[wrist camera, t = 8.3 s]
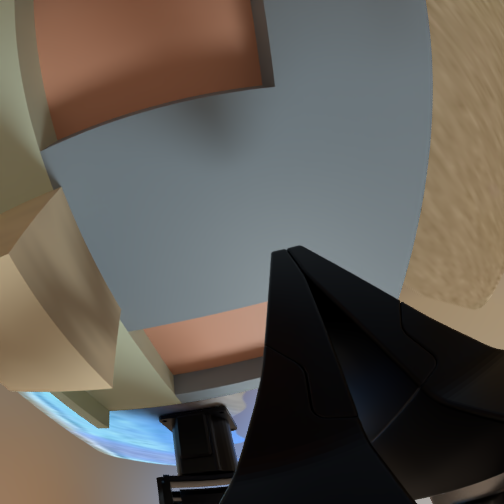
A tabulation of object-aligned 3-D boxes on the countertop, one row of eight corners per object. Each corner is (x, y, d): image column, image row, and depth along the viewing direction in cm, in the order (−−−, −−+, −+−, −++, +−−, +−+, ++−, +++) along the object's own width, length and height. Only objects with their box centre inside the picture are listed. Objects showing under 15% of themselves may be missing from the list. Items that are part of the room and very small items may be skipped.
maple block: (120, 309, 11) (112, 388, 8) (28, 326, 11) (9, 391, 8) (61, 186, 8) (8, 253, 5) (-33, 231, 7) (-78, 291, 4)
